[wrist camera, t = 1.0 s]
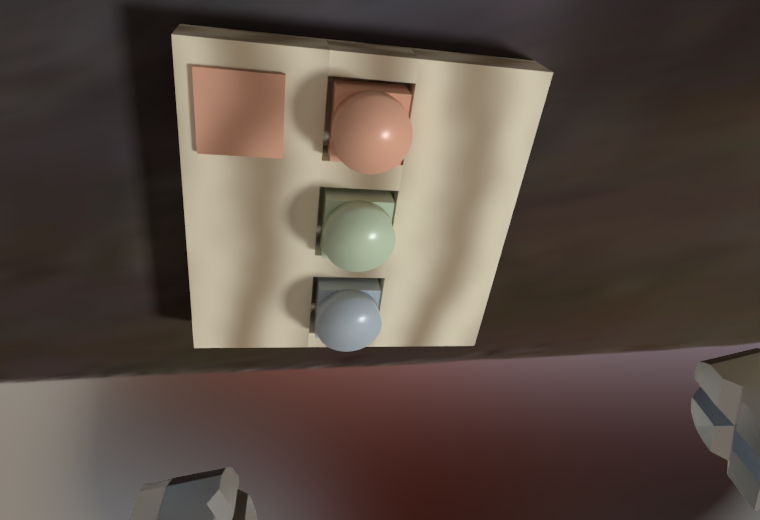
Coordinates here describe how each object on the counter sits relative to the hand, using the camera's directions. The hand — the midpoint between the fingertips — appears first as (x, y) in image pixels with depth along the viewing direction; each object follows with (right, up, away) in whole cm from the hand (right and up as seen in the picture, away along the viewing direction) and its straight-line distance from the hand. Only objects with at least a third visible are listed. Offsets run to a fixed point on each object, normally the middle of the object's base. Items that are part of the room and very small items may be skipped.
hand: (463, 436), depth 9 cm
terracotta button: (-2, +12, +24) cm, 27 cm away
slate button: (-4, 0, +32) cm, 32 cm away
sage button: (-3, +6, +28) cm, 29 cm away
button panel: (-4, +7, +30) cm, 31 cm away
